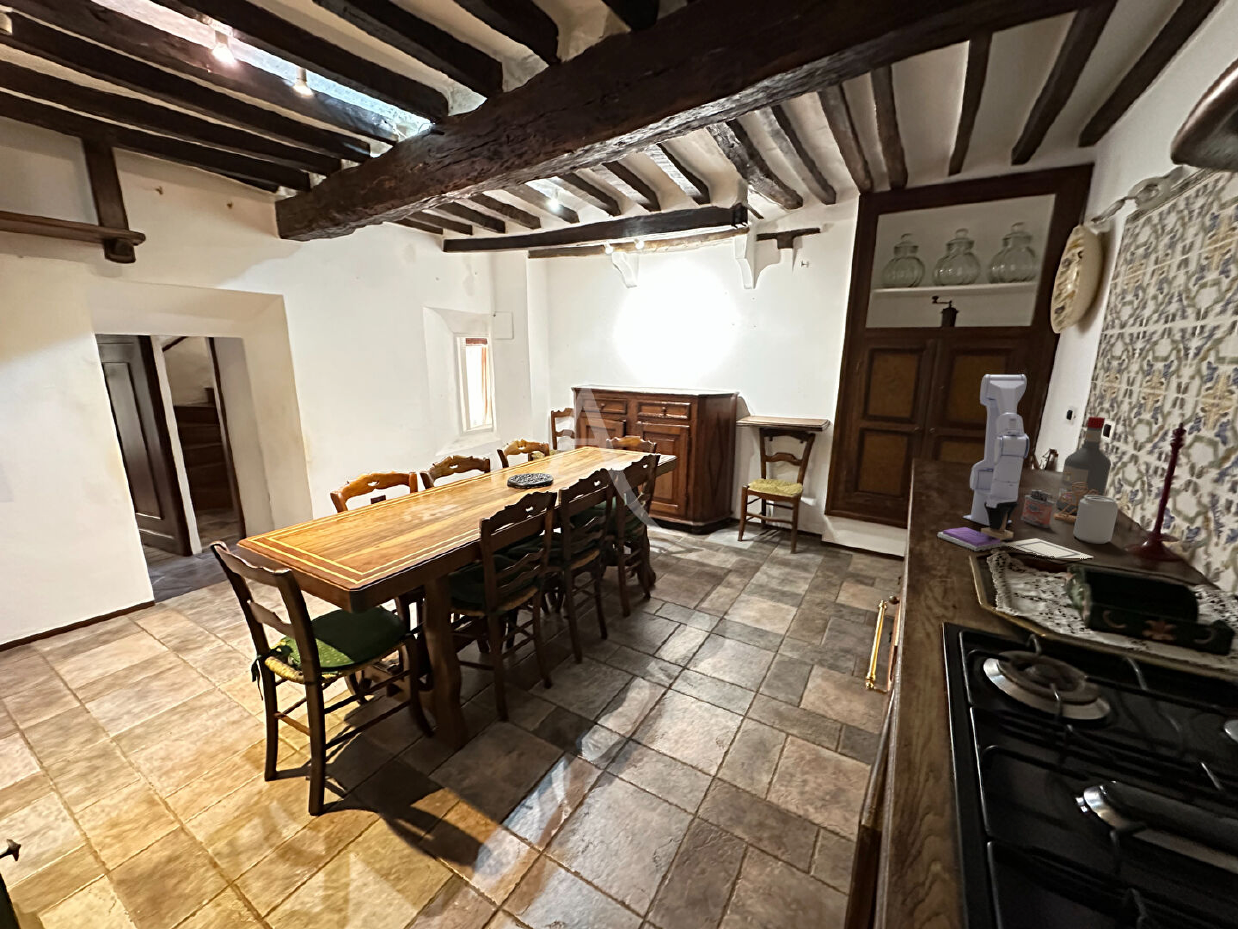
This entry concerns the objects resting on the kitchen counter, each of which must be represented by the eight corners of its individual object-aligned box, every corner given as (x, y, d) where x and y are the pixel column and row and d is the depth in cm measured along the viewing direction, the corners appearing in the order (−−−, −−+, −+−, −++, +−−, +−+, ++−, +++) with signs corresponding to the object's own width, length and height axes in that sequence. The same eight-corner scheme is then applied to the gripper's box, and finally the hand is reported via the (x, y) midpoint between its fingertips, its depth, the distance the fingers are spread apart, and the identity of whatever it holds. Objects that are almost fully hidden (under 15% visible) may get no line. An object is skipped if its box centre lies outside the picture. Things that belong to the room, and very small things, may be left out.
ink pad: (964, 532, 137) (965, 525, 136) (1004, 546, 127) (1005, 539, 126) (937, 536, 134) (938, 529, 134) (975, 551, 124) (976, 544, 123)
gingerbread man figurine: (1053, 519, 147) (1061, 481, 144) (1053, 515, 150) (1060, 478, 147) (1094, 525, 141) (1102, 486, 139) (1092, 521, 144) (1101, 483, 142)
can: (1100, 536, 133) (1109, 494, 130) (1117, 546, 126) (1127, 502, 123) (1066, 533, 135) (1075, 492, 133) (1081, 543, 128) (1090, 500, 126)
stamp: (993, 533, 136) (997, 509, 134) (1012, 539, 131) (1016, 515, 130) (980, 535, 135) (984, 511, 133) (998, 541, 130) (1002, 517, 128)
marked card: (1035, 539, 131) (1036, 537, 131) (1093, 558, 119) (1093, 556, 119) (1003, 545, 128) (1003, 543, 128) (1058, 564, 116) (1059, 562, 116)
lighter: (1017, 518, 148) (1023, 487, 145) (1027, 518, 148) (1033, 487, 146) (1042, 527, 140) (1048, 494, 138) (1053, 527, 140) (1059, 494, 138)
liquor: (1072, 514, 151) (1092, 419, 144) (1051, 505, 159) (1068, 415, 153) (1105, 515, 149) (1126, 419, 143) (1082, 506, 158) (1101, 415, 151)
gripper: (999, 473, 136) (991, 518, 139) (976, 480, 129) (969, 528, 132) (1030, 478, 131) (1021, 525, 134) (1008, 486, 123) (999, 536, 126)
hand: (997, 527), depth 132 cm, fingers closed on stamp, 3 cm apart
